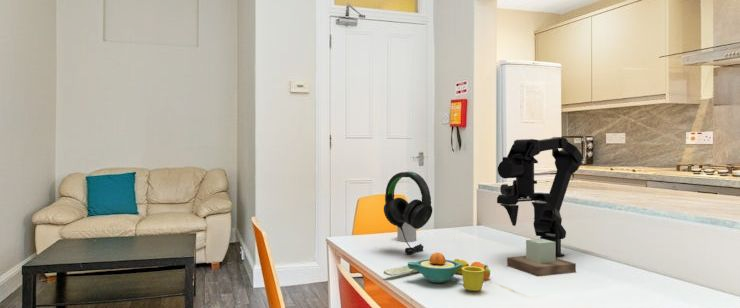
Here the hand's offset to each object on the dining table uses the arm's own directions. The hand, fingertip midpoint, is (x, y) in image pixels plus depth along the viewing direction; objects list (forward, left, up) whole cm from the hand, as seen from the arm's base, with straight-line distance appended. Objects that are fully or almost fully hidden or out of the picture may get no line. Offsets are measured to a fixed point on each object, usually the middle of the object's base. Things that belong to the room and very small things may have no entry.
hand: (525, 224), depth 157 cm
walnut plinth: (+3, +11, -12) cm, 16 cm away
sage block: (+3, +11, -9) cm, 14 cm away
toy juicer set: (+36, +8, -13) cm, 39 cm away
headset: (+31, -22, -12) cm, 40 cm away
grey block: (+23, -43, -12) cm, 51 cm away
